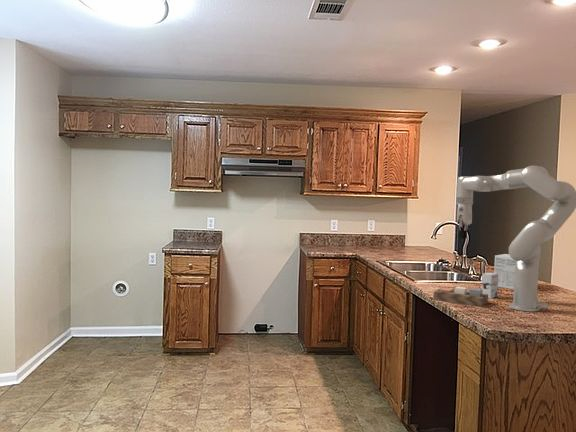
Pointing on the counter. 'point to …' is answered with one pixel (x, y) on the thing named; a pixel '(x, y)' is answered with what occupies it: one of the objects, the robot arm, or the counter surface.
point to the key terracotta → (446, 290)
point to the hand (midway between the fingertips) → (463, 238)
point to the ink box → (490, 284)
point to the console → (460, 298)
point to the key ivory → (460, 290)
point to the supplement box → (505, 270)
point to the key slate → (476, 292)
